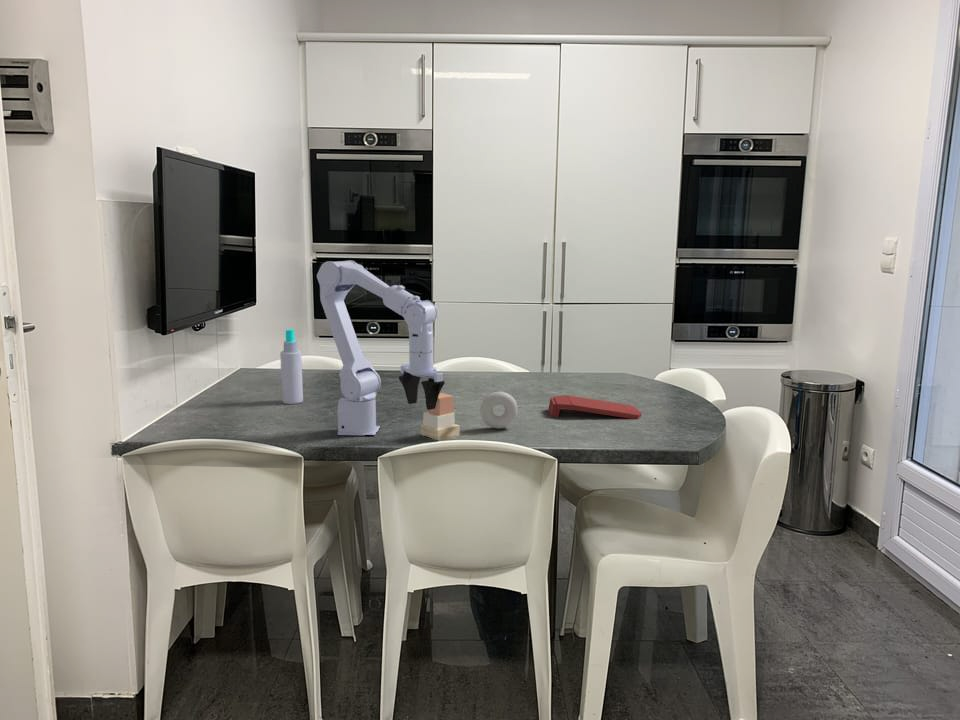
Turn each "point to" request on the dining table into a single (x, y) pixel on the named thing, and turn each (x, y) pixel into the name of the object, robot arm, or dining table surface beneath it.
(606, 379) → the dining table surface
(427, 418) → the cream top block
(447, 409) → the terracotta cube
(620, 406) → the red elongated bent piece
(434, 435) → the birch base block
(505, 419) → the donut
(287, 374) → the spray bottle
